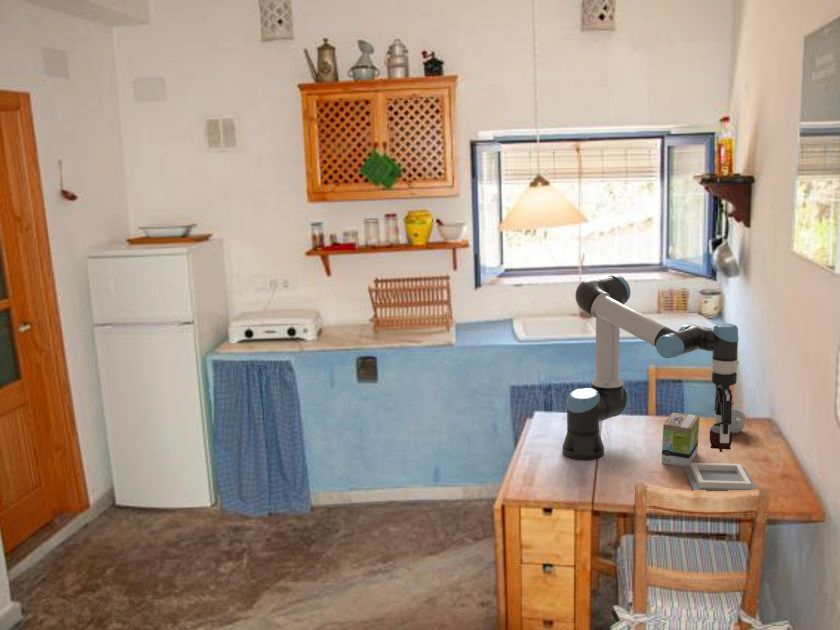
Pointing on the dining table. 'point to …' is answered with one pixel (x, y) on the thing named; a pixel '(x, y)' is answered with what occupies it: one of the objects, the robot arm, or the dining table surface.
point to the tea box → (680, 439)
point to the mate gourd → (716, 437)
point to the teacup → (737, 421)
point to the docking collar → (718, 477)
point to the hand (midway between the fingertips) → (721, 438)
